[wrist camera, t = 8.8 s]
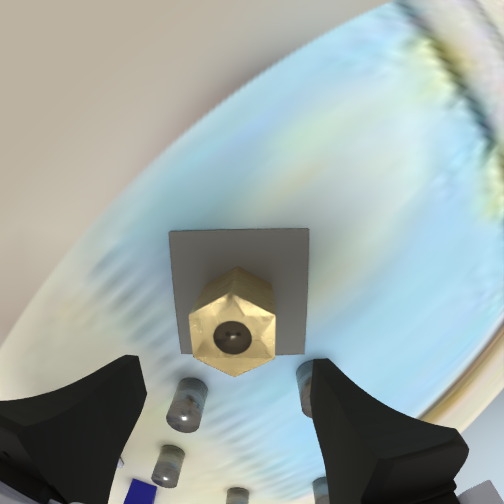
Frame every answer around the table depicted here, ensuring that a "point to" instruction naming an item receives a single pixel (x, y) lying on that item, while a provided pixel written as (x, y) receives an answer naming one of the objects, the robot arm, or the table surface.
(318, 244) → the table surface
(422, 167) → the table surface
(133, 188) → the table surface
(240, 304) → the brass nut
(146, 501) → the cable clip
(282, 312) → the mat
